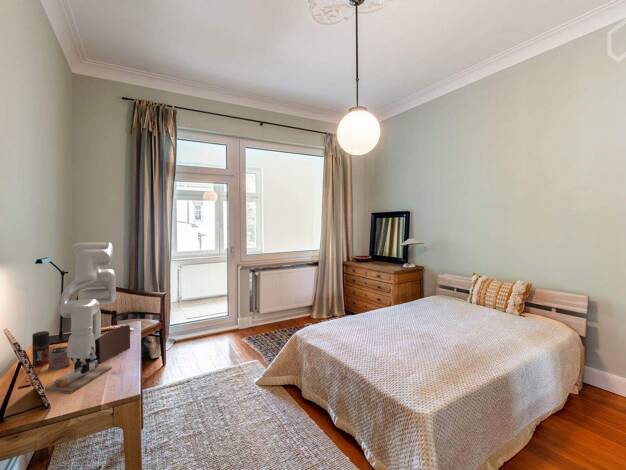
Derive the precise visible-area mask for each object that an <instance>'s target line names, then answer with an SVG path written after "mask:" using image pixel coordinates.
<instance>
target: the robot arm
mask: <svg viewBox="0 0 626 470" xmlns="http://www.w3.org/2000/svg"><path fill="white" fill-rule="evenodd" d="M72 251H73V254H74V255H75V257H76V261H75V273H74V274H75V275H74V279H73V281H71V282H70V283H69V284H68V285H66V287H65V288H64V289H63V291H62V293H61V296H60V297H61V298H60V306H59V313H60V316H61V317H63V318H67V319H68V318H70V319H71V320H70V321H71V325H70V326H71V327H70V333H71V334H70V335H69V337H68V342H67V346H68V347H67V349H66V350H67V356H68V357H69V358H70V359H71V360H70V361H72V364H73V366H74V367H73V369H74V370H76V369H78V368H80V367H81V366H82V374H84V373H86V372H88V371H89V363H90V362H91V361H92V360H93V359H95V358H96V355H95V340H96V339H98V338H100V337H101V336H102V335H101V333H102V312H101V309H100V305H106V304H111V303H114V302H115V300H116V296H117V286H116V285H117V279H116V276H117V275H116V272H115V271H114V269H112V268H101V267H102V266H110V265H111V264H112V262H113V257H114V256H113V255H114V247H113V244H112V243H111V242H106V241H105V242H101V241H100V242H97V241H96V242H93V241H90V242H88V241H87V242H86V241H85V242H77V243H75V244H73V246H72ZM83 287H85V288H84V289H83ZM86 287H88V288H86ZM81 288H82V289H81ZM79 289H81V290H80V291H79V292H78V294H77V298H78V299H75V300H74V299H72V300H70V296H71V295H72V294H73V293H74V292H75V291H77V290H79ZM90 356H91V357H90ZM86 359H87V360H86ZM74 370H73V371H74Z"/></svg>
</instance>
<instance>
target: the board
mask: <svg viewBox="0 0 626 470" xmlns="http://www.w3.org/2000/svg"><path fill="white" fill-rule="evenodd" d="M112 369H113V367H112V366H109V365H108V366H107V365H100V364H97V368H95V369H94V370H92V371H90V372H88V373H87V374H85V375H83V376H81V377H79V378H78V379H76V380H74V381H72V382H71V383H69V384H67V385H66V386H64V387H56V382H54V383H52V384H50V385H48V386H46V387H45V389H44V390H45V392H55V393H69V394H73V393H75V392H76V391H78V390H79V389H80V388H82V387H84V386H86V385H87V384H89V383H91V382H92V381H94V380H96V379H98V378H99V377H100V376H102V375H103V374H106V373H107V372H109V371H110V370H112Z"/></svg>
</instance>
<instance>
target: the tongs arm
mask: <svg viewBox="0 0 626 470" xmlns="http://www.w3.org/2000/svg"><path fill="white" fill-rule="evenodd" d="M94 369H95V362H92V363H90V364H89V371H88V372H90V371H92V370H94ZM88 372H86V373H84V374H82V368H81V369H79V370H77V371H75V372H73V373H71V374H70V375H68V376H66V377H64V378H62V379H60V387H64V386H66V385H67V384H69V383H71V382H72V381H74V380H76V379H78V378H79V377H81V376H83V375H85V374H87V373H88Z"/></svg>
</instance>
